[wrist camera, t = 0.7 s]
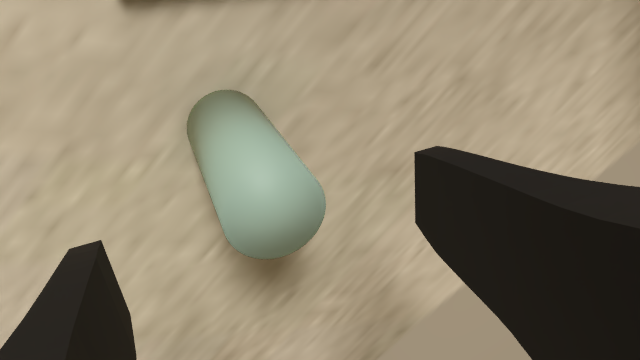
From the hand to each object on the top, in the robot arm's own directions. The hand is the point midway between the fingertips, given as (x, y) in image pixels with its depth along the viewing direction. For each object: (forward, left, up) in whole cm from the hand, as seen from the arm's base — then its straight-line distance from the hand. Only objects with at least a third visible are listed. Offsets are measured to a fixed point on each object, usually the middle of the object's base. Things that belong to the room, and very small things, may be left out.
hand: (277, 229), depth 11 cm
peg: (-1, +1, -10) cm, 10 cm away
